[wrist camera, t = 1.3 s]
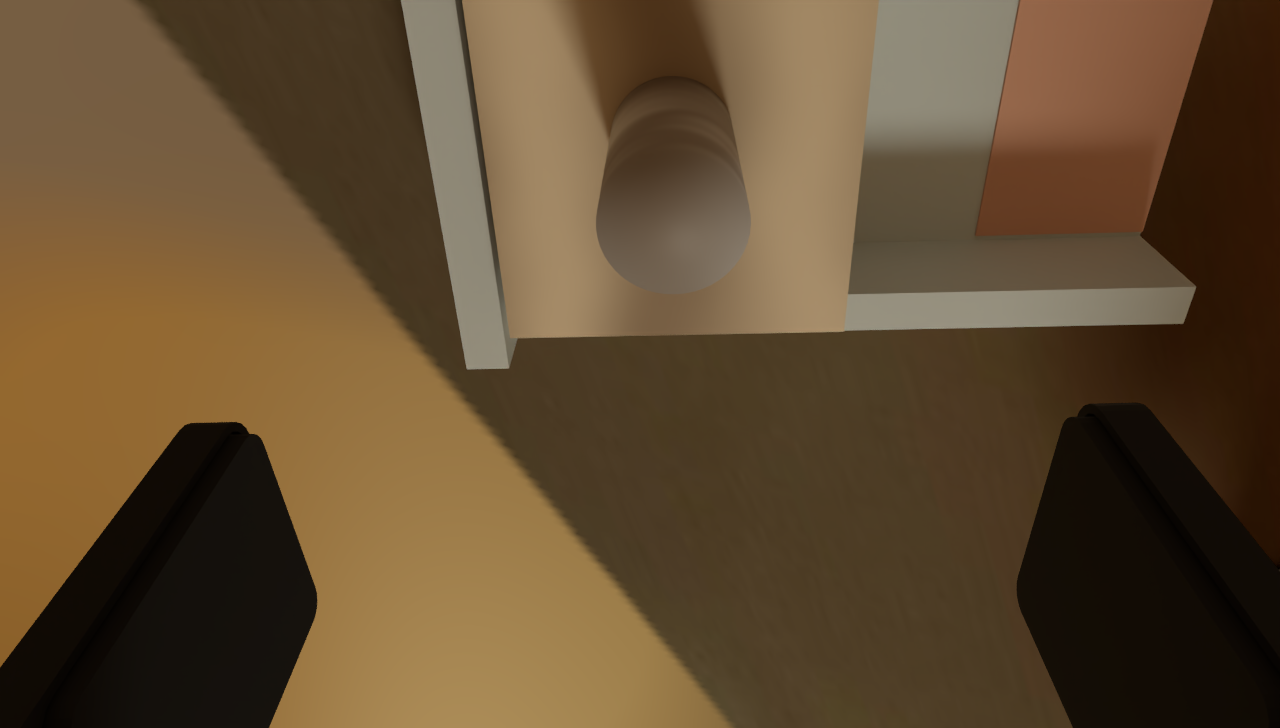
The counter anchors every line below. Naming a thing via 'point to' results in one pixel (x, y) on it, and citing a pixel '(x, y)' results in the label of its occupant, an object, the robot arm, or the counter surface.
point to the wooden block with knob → (672, 161)
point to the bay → (928, 165)
